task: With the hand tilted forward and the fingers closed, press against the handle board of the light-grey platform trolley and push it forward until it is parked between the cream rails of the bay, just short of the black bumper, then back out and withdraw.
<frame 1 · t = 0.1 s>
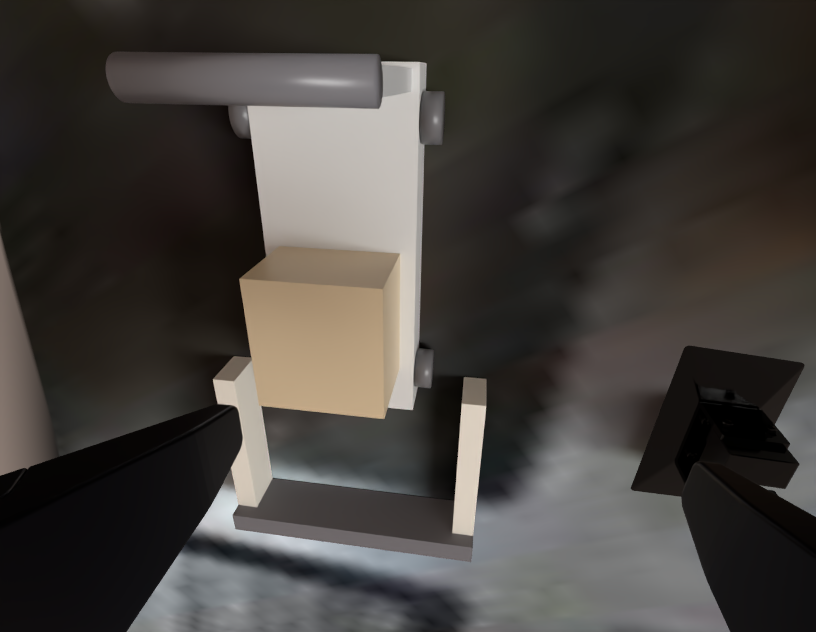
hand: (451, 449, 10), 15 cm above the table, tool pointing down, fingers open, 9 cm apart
trolley: (351, 245, 24), on the table
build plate: (706, 422, 26), on the table
bay: (357, 403, 28), on the table
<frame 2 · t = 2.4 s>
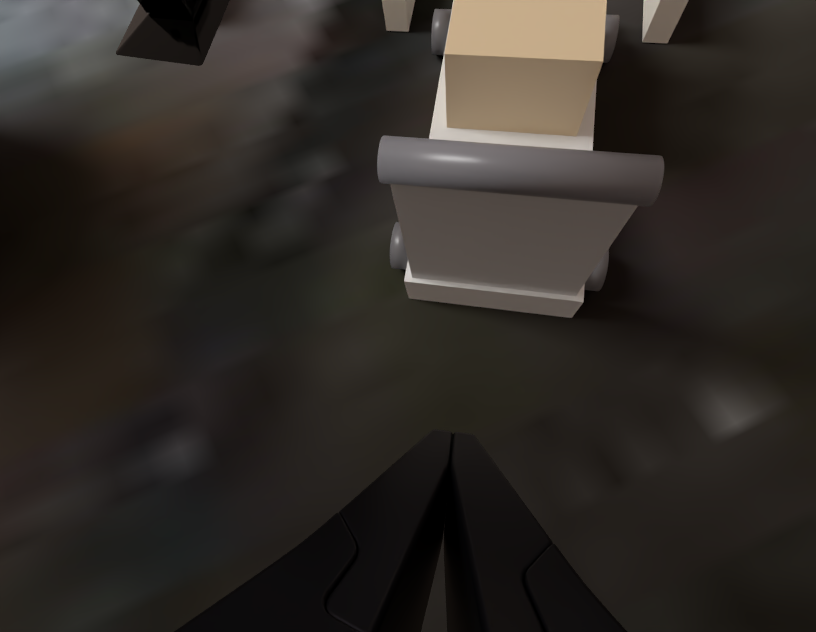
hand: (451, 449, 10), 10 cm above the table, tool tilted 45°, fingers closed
trolley: (506, 153, 23), on the table
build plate: (192, 7, 29), on the table
bay: (525, 0, 26), on the table
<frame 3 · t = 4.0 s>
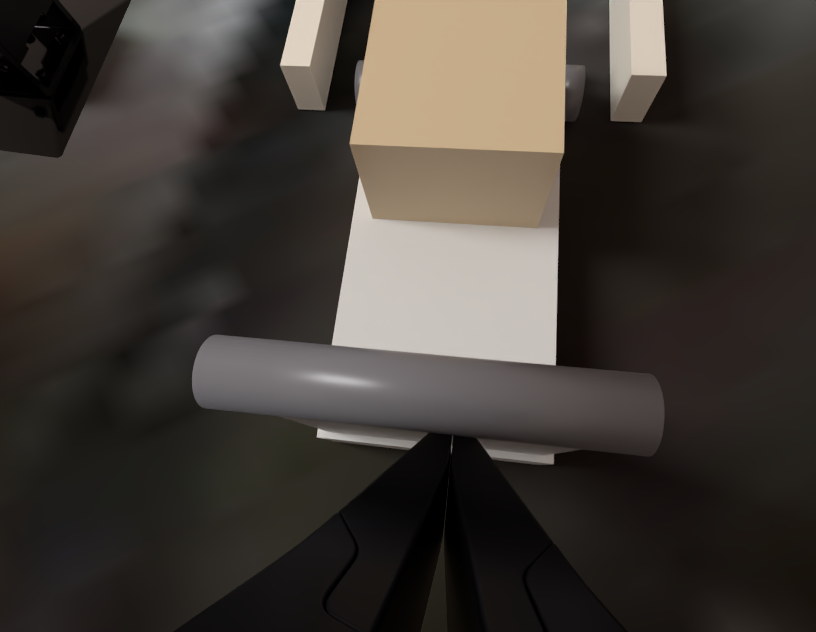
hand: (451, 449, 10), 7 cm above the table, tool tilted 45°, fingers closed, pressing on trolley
trolley: (453, 239, 19), on the table, touching gripper
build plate: (58, 79, 24), on the table
bay: (467, 68, 21), on the table
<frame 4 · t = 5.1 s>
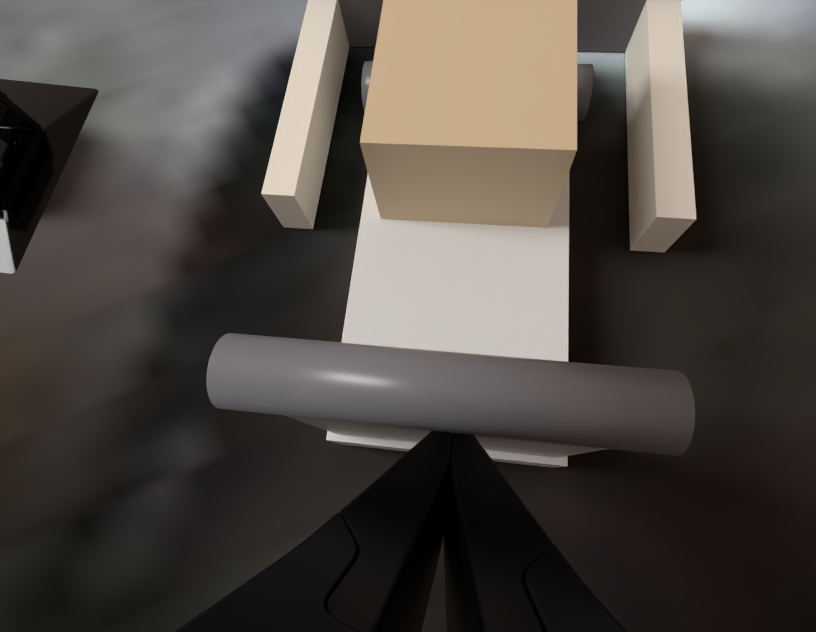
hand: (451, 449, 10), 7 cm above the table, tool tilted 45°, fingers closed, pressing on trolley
trolley: (462, 240, 18), on the table, touching gripper
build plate: (18, 179, 22), on the table
bay: (470, 182, 19), on the table
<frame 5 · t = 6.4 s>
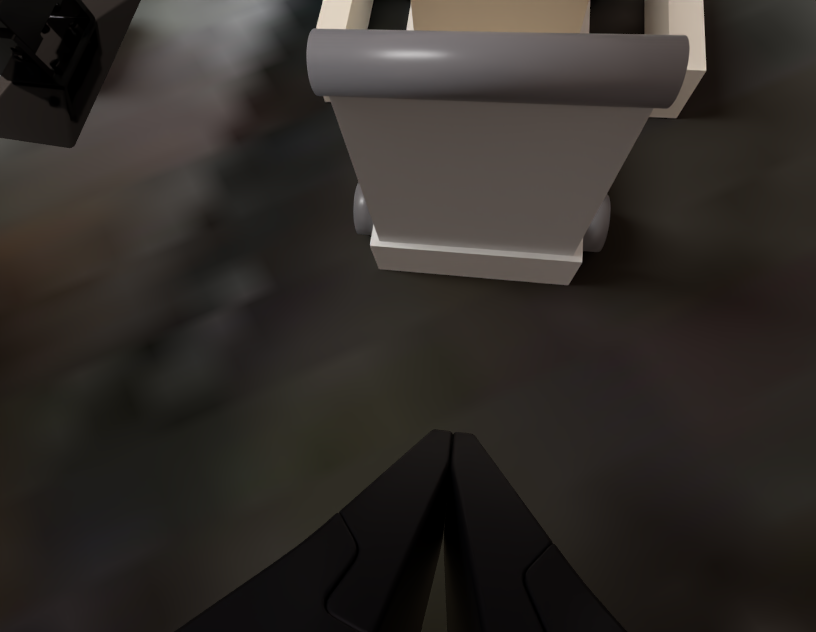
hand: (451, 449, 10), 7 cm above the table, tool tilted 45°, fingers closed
trolley: (488, 102, 20), on the table
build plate: (72, 69, 24), on the table
bay: (497, 61, 21), on the table
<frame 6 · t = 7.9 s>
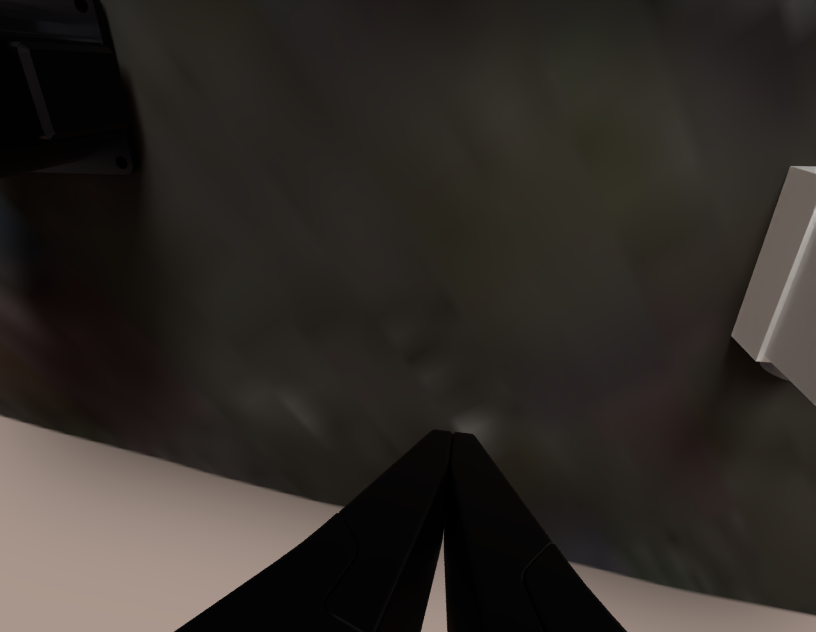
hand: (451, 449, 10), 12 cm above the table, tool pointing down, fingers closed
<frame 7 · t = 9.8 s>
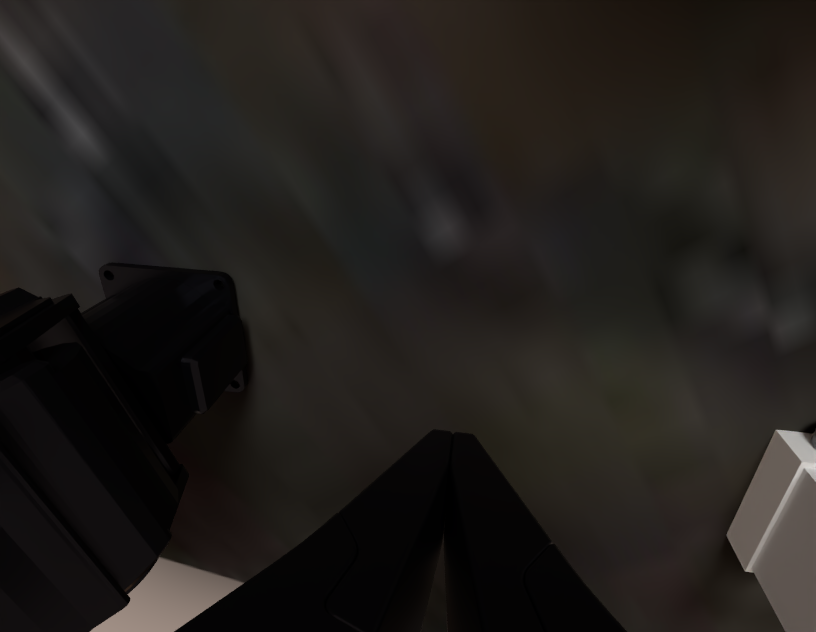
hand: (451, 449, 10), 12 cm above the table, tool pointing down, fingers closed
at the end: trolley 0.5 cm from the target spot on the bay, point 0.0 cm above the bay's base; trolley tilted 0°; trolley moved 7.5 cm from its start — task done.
